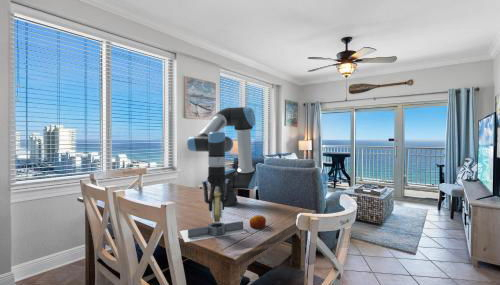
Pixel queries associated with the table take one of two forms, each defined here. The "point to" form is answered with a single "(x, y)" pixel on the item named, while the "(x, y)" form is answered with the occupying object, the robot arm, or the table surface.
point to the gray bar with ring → (215, 229)
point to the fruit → (257, 222)
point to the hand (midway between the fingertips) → (216, 217)
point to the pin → (216, 206)
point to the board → (186, 239)
